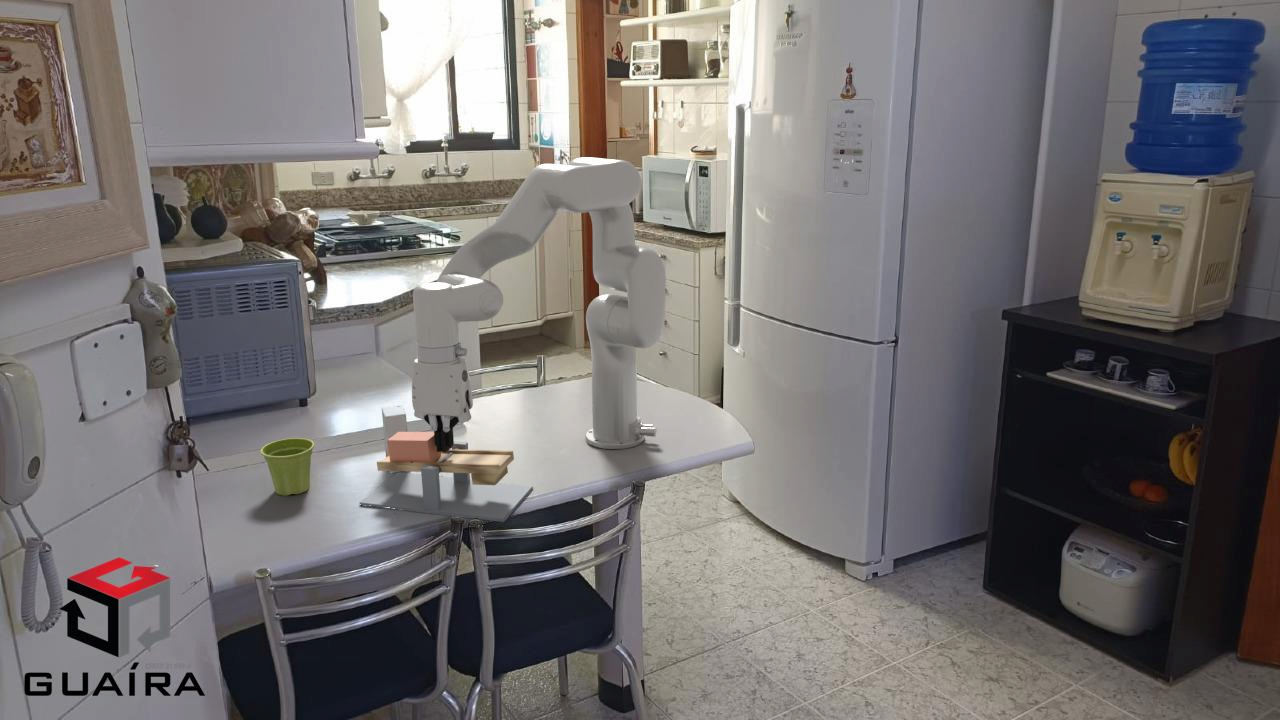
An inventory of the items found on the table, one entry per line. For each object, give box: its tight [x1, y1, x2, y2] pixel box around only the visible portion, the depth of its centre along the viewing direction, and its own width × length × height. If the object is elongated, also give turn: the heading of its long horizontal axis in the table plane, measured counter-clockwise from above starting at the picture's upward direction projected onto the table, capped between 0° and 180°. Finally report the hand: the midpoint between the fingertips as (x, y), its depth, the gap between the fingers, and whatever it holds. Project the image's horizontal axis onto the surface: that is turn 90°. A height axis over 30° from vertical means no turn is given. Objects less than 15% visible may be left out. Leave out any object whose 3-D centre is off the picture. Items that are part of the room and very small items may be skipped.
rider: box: [387, 431, 441, 462], centre depth 173 cm, size 8×4×4 cm, turn 77°
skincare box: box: [381, 404, 409, 474], centre depth 187 cm, size 6×4×12 cm
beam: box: [376, 448, 515, 485], centre depth 173 cm, size 24×10×4 cm, turn 76°
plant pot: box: [260, 437, 315, 497], centre depth 176 cm, size 9×9×9 cm
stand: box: [359, 440, 534, 523], centre depth 173 cm, size 28×14×8 cm, turn 76°
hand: (444, 449), depth 172 cm, fingers closed
